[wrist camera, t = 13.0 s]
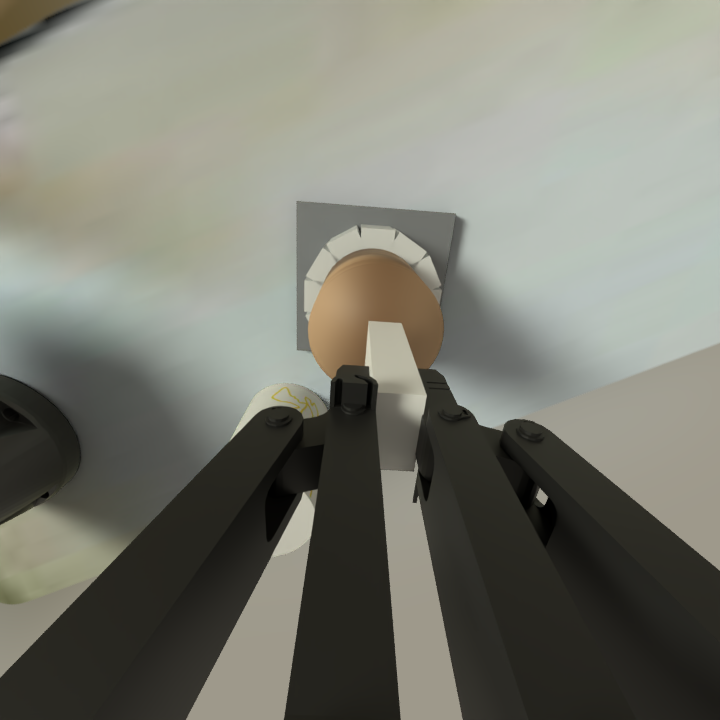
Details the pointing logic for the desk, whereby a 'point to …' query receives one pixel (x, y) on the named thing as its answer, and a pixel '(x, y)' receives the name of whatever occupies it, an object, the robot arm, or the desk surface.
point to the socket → (366, 246)
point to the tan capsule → (372, 310)
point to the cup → (309, 407)
